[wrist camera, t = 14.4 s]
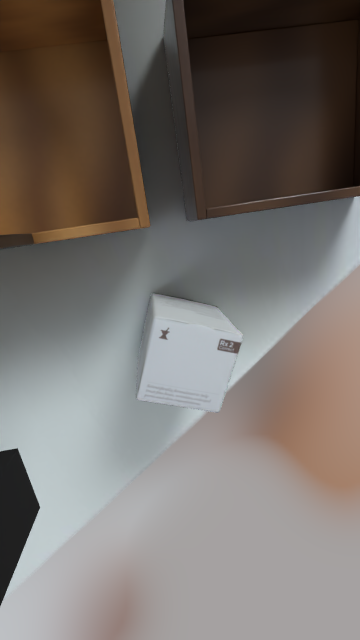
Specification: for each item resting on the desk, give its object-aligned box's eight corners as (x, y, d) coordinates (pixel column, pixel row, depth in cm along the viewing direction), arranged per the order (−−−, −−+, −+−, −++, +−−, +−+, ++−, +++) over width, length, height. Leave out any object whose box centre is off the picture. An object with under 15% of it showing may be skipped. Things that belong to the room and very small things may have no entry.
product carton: (137, 356, 27) (133, 402, 20) (151, 291, 25) (152, 315, 18) (202, 368, 28) (220, 415, 21) (220, 305, 26) (246, 334, 19)
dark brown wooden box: (186, 221, 24) (197, 220, 19) (163, 35, 20) (168, -32, 15) (355, 196, 25) (411, 188, 19) (361, 12, 21) (433, -59, 16)
